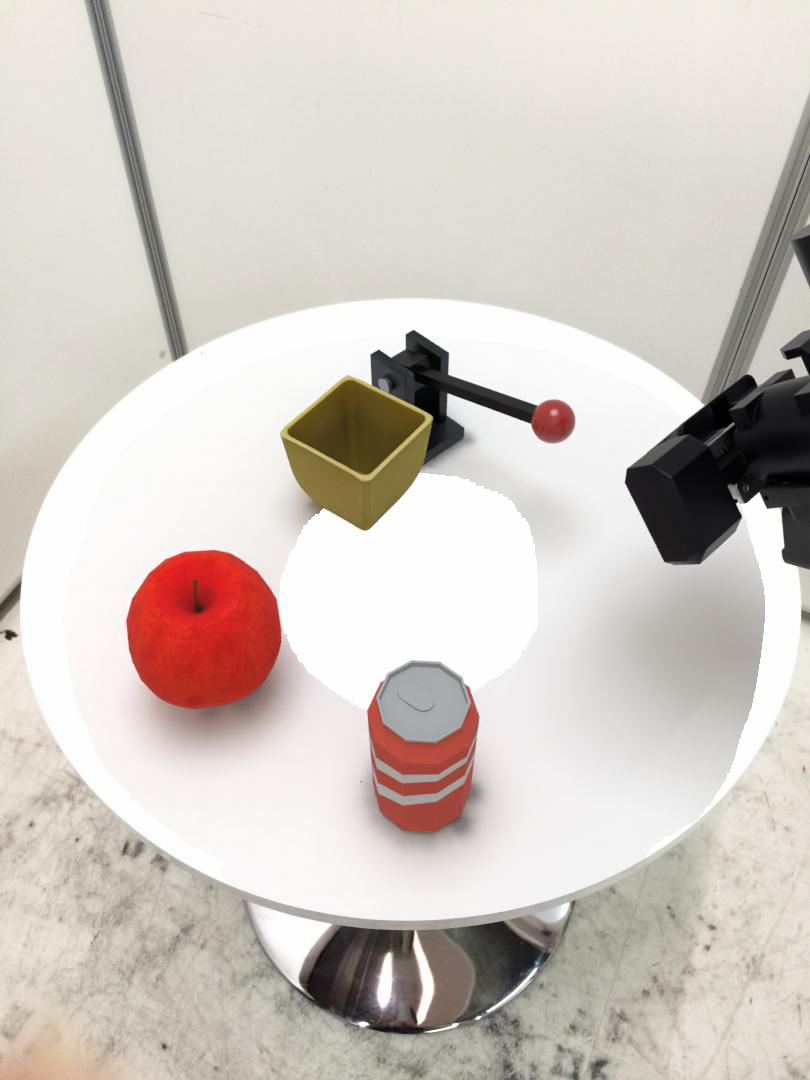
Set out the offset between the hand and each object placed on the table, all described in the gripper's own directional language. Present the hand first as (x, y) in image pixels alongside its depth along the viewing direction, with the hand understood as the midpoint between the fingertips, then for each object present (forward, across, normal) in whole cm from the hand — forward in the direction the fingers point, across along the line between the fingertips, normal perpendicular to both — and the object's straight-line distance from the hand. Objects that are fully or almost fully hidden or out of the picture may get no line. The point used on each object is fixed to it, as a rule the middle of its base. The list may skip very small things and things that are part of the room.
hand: (651, 458), depth 58 cm
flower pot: (+24, -9, +4) cm, 26 cm away
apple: (+19, -28, 0) cm, 34 cm away
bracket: (+26, 0, +7) cm, 27 cm away
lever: (+15, 0, +7) cm, 16 cm away
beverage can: (+8, -23, -11) cm, 27 cm away
